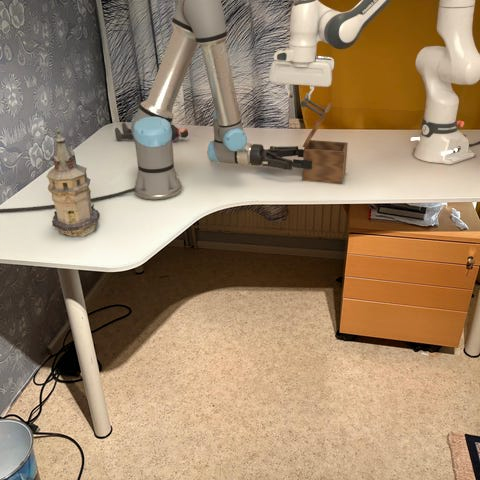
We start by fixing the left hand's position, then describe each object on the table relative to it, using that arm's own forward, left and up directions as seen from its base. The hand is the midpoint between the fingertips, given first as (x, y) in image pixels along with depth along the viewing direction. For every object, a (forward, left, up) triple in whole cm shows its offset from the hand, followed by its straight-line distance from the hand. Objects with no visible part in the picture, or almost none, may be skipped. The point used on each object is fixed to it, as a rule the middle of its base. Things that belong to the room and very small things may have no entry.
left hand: (314, 159), depth 185 cm
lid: (+1, 0, +12) cm, 12 cm away
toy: (-58, +47, -6) cm, 74 cm away
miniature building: (-76, -31, -6) cm, 82 cm away
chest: (+4, -1, -6) cm, 7 cm away
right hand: (-6, +2, +21) cm, 22 cm away
